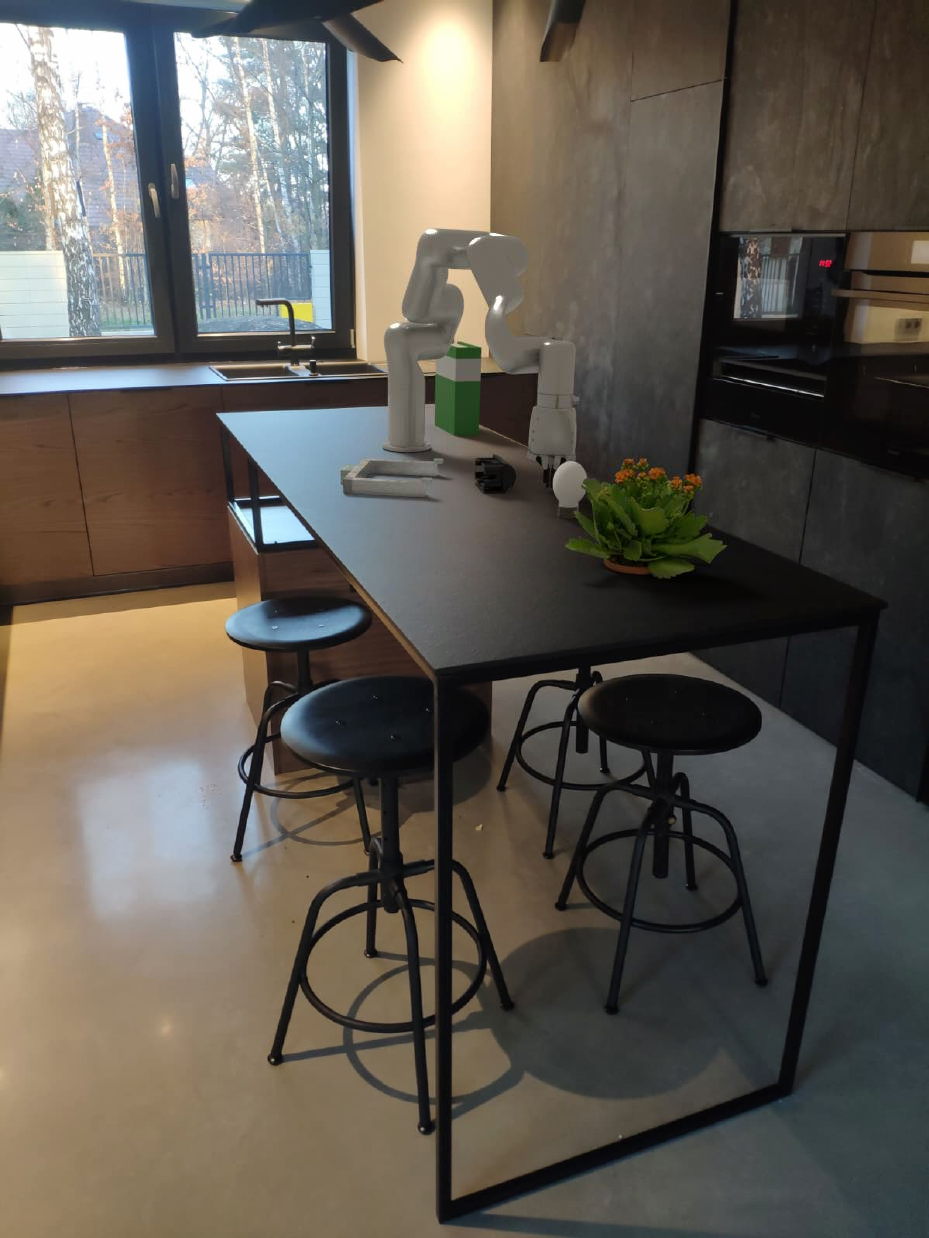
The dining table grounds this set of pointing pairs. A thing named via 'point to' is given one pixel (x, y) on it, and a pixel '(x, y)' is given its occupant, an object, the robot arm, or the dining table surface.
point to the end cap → (494, 475)
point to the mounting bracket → (360, 484)
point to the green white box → (458, 390)
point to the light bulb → (569, 488)
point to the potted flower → (644, 523)
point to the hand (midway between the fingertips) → (549, 486)
